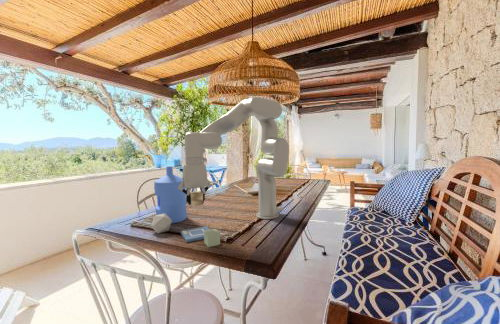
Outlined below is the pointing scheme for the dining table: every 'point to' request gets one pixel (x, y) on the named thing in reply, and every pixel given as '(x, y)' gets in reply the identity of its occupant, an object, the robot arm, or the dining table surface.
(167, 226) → the die
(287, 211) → the dining table surface
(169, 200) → the water jug
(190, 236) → the board
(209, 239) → the green block
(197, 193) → the pine block
